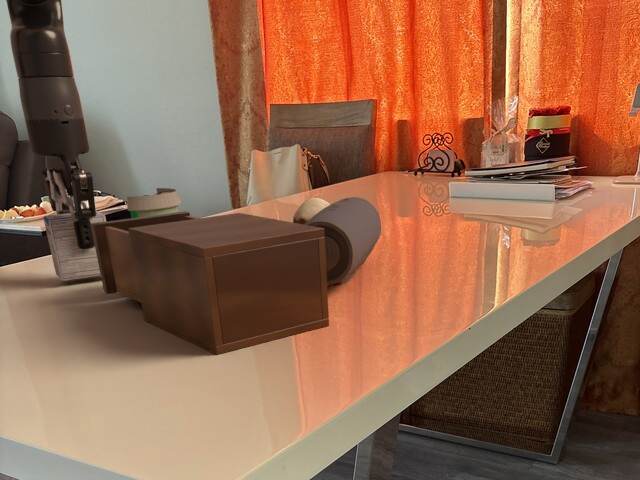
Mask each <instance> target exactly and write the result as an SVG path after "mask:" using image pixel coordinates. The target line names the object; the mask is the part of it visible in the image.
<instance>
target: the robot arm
mask: <svg viewBox="0 0 640 480" xmlns="http://www.w3.org/2000/svg"><path fill="white" fill-rule="evenodd" d="M5 1H6V5H7V11H8V15H9V16H8V17H9V20H10V24H11V29H10V32H9V33H10V34H9V40H10V47H11V52H12V57H13V62H14V67H15V72H16V77H17V81H18V89H19V98H20V103H21V104H20V105H21V108H22V112H23V117H24V123H25V127H26V130H27V136H28V139H29V145H30V149H31V150H30V151H31V152H32V154H33V155H34V156H37V157H46V161H47V167H42V168H41V169H40V173H41V176H42V180H43V183H44V187H45V190H46V193H47V197H48V200H49V203H50V208H51V210H52V211H53V212H55V215H58V214H67V213H71V216H72V219H73V221H74V222H73V224H74V229H75V234H76V239H77V243H78V247H79V248H80V249H89V248H93V247H94V246H95V244H94V239H93V235H92V230H91V225H90V224H91V222H90V221H89V220H92V217H96V211H97V210H96V201H95V190H94V180H93V179H94V178H93V175H92V173H91V172H85V171H84V169H83V168H82V165H81V162H80V159H79V155H84V154H87V153H89V152H90V145H89V139H88V134H87V128H86V122H85V118H84V113H83V107H82V102H81V97H80V93H79V89H78V86H77V84H76V78H75V76H74V69H73V65H72V59H71V54H70V49H69V44H68V41H67V37H66V33H65V26H64V23H65V22H64V16H63V15H64V14H63V3H62V0H5Z"/></svg>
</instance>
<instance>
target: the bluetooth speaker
mask: <svg viewBox="0 0 640 480" xmlns="http://www.w3.org/2000/svg"><path fill="white" fill-rule="evenodd" d="M304 225H309V226H314V227H320V228H324V238H325V256H326V275H327V286H332V285H343V284H346V283H347V282H348V281H350V280H351V279H352V277H353V276H354V275H355V274H356V273H357V270H358V269H359V268H361V266H363V264H364V263H365V262H366V261H367V260H368V259H369V257H370V256H371V254H372V253H373V250H374V249H375V247H376V245H377V243H378V241H379V239H380V235H381V232H382V221H381V217H380V214H379V212H378V210H377V209H376V207H375V205H373V204H372V203H371V202H370V201H368V200H367V199H364V198H362V197H357V196H356V197H355V196H354V197H353V196H350V197H345V198H343V199H339V200H337V201H335V202H333V203H331V204H330V205H329V206H327V207H326V208H324V209H322V210H321V211H320V212H318V213H317V214H316V215H314V216H313V217H312V218H311V219H310V220H308V221H307V222H306V223H305V224H304Z"/></svg>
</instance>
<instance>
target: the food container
mask: <svg viewBox="0 0 640 480" xmlns="http://www.w3.org/2000/svg"><path fill="white" fill-rule="evenodd" d="M177 191H178V190H177V189H175V188H170V187H169V188H167V187H156V193H155V194H143V195H139V196H138V195H135V196H126V200H127V201H126V205H127V211H129V214H130V219H131V218H138V217H146V216H154V215H161V214H169V213H176V212H179V205H182V200H181V197H180V194H179V193H178V192H177Z"/></svg>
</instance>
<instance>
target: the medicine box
mask: <svg viewBox="0 0 640 480" xmlns="http://www.w3.org/2000/svg"><path fill="white" fill-rule="evenodd" d="M42 219H43V222H44V228H45V231H46V236H47V240H48V245H49V249H50V254H51V259H52V263H53V267H54V272H55V275H56V276H57V277H58V279H59V280H60V281H62V282H65V281H72V280H79V279H86V278H93V277H94V278H95V277H101V274H100V269H99V264H98V259H97V254H96V249H95V246H94V247H93V248H89V249H80V248H79V247H78V243H77V239H76V234H75V229H74V224H73V222H74V221H73V219H72V216H71V213H67V214H58V215H57V214H50V215H49V214H48V215H44V216H43V218H42ZM89 221H90V222H91V224H93V223H100V222H107V219H106V215H105V214H103V213H102V212H100V211H98V210H96V217H92V220H89Z"/></svg>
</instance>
